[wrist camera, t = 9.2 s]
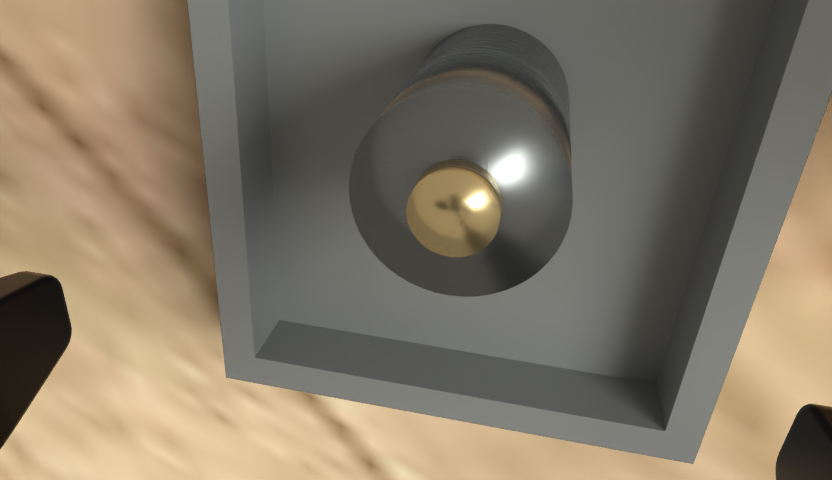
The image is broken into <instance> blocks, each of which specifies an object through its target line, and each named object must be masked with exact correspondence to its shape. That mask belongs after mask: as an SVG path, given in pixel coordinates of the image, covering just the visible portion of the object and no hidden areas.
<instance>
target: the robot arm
mask: <svg viewBox="0 0 832 480" xmlns="http://www.w3.org/2000/svg"><path fill="white" fill-rule="evenodd" d="M71 332H72V328H71V323H70V319H69V314H68V310H67V306H66V302H65V298H64V293H63V289H62V286H61V283H60V282H59V281H58V279H57V278H55V277H53V276H51V275H47V274H41V273H35V272H28V271H25V272H18V273H15V274H11V275H8V276H5V277H1V278H0V449H1V448H2V446H3V445H4V443H5V442H6V440H7V439H8V438H9V436H10V435H11V433H12V432H13V430H14V429H15V427H16V426H17V424H18V423H19V421H20V419H21V418H22V416H23V415H24V413H25V412H26V410H27V409H28V407H29V406H30V404H31V402H32V401H33V399H34V398H35V396H36V395H37V393H38V392H39V390H40V389H41V387H42V385H43V384H44V382H45V381H46V379H47V378H48V376H49V375H50V373H51V372H52V370H53V368H54V367H55V365H56V364H57V362H58V361H59V359H60V358H61V356H62V355H63V353H64V351H65V350H66V348H67V346H68V344H69V342H70V338H71ZM776 480H832V407H828V406H822V405H817V404H808V405H805V406H803V407H802V408H801V409H800V410H799V412H798V413H797V415H796V417H795V420H794V422H793V424H792V426H791V428H790V431H789V433H788V435H787V437H786V439H785V441H784V444H783V446H782V448H781V450H780V452H779V455H778V458H777V462H776Z"/></svg>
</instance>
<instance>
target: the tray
mask: <svg viewBox="0 0 832 480" xmlns="http://www.w3.org/2000/svg"><path fill="white" fill-rule="evenodd" d="M187 2H188V12H189V22H190V32H191V41H192V51H193V61H194V70H195V80H196V90H197V99H198V109H199V119H200V129H201V138H202V148H203V158H204V167H205V177H206V187H207V197H208V206H209V216H210V226H211V235H212V245H213V255H214V265H215V274H216V284H217V294H218V303H219V313H220V323H221V332H222V342H223V352H224V362H225V371H226V378H231V379H237V380H242V381H247V382H253V383H258V384H264V385H269V386H274V387H280V388H285V389H291V390H296V391H301V392H307V393H312V394H318V395H323V396H328V397H334V398H339V399H345V400H350V401H356V402H361V403H366V404H372V405H377V406H383V407H388V408H393V409H399V410H404V411H410V412H415V413H420V414H426V415H431V416H437V417H442V418H447V419H453V420H458V421H464V422H469V423H474V424H480V425H485V426H491V427H496V428H501V429H507V430H512V431H518V432H523V433H528V434H534V435H539V436H545V437H550V438H556V439H561V440H566V441H572V442H577V443H583V444H588V445H593V446H599V447H604V448H610V449H615V450H620V451H626V452H631V453H637V454H642V455H647V456H653V457H658V458H664V459H669V460H674V461H680V462H685V463H691V464H693V463H694V461H695V458H696V455H697V453H698V450H699V447H700V445H701V442H702V439H703V437H704V434H705V431H706V429H707V426H708V423H709V421H710V418H711V415H712V412H713V410H714V407H715V404H716V402H717V399H718V396H719V394H720V391H721V388H722V386H723V383H724V380H725V378H726V375H727V372H728V370H729V367H730V364H731V362H732V359H733V356H734V353H735V351H736V348H737V345H738V343H739V340H740V337H741V335H742V332H743V329H744V327H745V324H746V321H747V319H748V316H749V313H750V311H751V308H752V305H753V303H754V300H755V297H756V294H757V292H758V289H759V286H760V284H761V281H762V278H763V276H764V273H765V270H766V268H767V265H768V262H769V260H770V257H771V254H772V252H773V249H774V246H775V244H776V241H777V238H778V235H779V233H780V230H781V227H782V225H783V222H784V219H785V217H786V214H787V211H788V209H789V206H790V203H791V201H792V198H793V195H794V193H795V190H796V187H797V185H798V182H799V179H800V176H801V174H802V171H803V168H804V166H805V163H806V160H807V158H808V155H809V152H810V150H811V147H812V144H813V142H814V139H815V136H816V134H817V131H818V128H819V126H820V123H821V120H822V117H823V115H824V112H825V109H826V107H827V104H828V101H829V99H830V96H831V93H832V0H187ZM483 24H500V25H506V26H511V27H514V28H517V29H520V30H522V31H524V32H527V33H529V34H530V35H532V36H534V37H535V38H537V39H538V40H539V41H541V42H542V43H543V44H544V45H545V46H546V47H547V48H548V49H549V50H550V51H551V52H552V53H553V55H554V56H555V57H556V59H557V61H558V62H559V64H560V66H561V68H562V70H563V72H564V74H565V78H566V81H567V85H568V91H569V108H570V135H571V162H572V189H573V207H572V215H571V220H570V224H569V227H568V231H567V233H566V235H565V238H564V240H563V242H562V244H561V246H560V247H559V249H558V250H557V252H556V254H555V255H554V256H553V257H552V259H551V260H550V261H549V262H548V263H547V264H546V265H545V266H544V267H543V268H542V269H541V270H540V271H539V272H538V273H536V274H535V275H534V276H532V277H531V278H529V279H528V280H526V281H525V282H523V283H521V284H519V285H517V286H515V287H513V288H510V289H507V290H505V291H502V292H498V293H494V294H490V295H483V296H475V297H460V296H450V295H444V294H440V293H435V292H432V291H429V290H426V289H423V288H420V287H418V286H416V285H414V284H412V283H409V282H408V281H406V280H404V279H403V278H401V277H399V276H398V275H396V274H395V273H394V272H392V271H391V270H390V269H389V268H387V267H386V266H385V265H384V264H383V263H382V262H381V261H380V260H379V259H378V258H377V257H376V256H375V255H374V253H373V252H372V251H371V250H370V249H369V247H368V246H367V244H366V243H365V241H364V239H363V238H362V236H361V234H360V232H359V230H358V228H357V226H356V223H355V220H354V217H353V214H352V210H351V205H350V200H349V176H350V170H351V166H352V161H353V158H354V156H355V153H356V151H357V148H358V146H359V144H360V143H361V141H362V139H363V137H364V136H365V134H366V133H367V132H368V130H369V129H370V128H371V127H372V125H373V124H374V123H375V121H376V120H377V119H378V118H379V116H380V115H381V114H382V113H383V111H384V110H385V109H386V108H387V106H388V105H389V104H390V103H391V101H392V100H393V99H394V97H395V96H396V95H397V94H398V92H399V91H400V90H401V89H402V87H403V86H404V85H405V84H406V82H407V81H408V80H409V79H410V77H411V76H412V75H413V73H414V72H415V71H416V70H417V68H418V67H419V66H420V65H421V63H422V62H423V61H424V60H425V58H426V57H427V56H428V55H429V53H430V52H431V51H432V50H433V49H434V48H435V47H436V46H437V45H438V44H439V43H440V42H441V41H443V40H444V39H445V38H447V37H448V36H450V35H452V34H453V33H455V32H457V31H459V30H462V29H464V28H467V27H471V26H475V25H483Z"/></svg>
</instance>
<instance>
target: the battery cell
mask: <svg viewBox="0 0 832 480" xmlns="http://www.w3.org/2000/svg"><path fill="white" fill-rule="evenodd" d="M349 200H350V205H351V210H352V214H353V217H354V220H355V223H356V226H357V228H358V230H359V232H360V234H361V236H362V238H363V239H364V241H365V243H366V244H367V246H368V247H369V249H370V250H371V251H372V252H373V253H374V255H375V256H376V257H377V258H378V259H379V260H380V261H381V262H382V263H383V264H384V265H385V266H386V267H387V268H389V269H390V270H391V271H392V272H394V273H395V274H396V275H398V276H399V277H401V278H403V279H404V280H406V281H408V282H409V283H412V284H414V285H416V286H418V287H420V288H423V289H426V290H429V291H432V292H435V293H440V294H444V295H450V296H460V297H475V296H483V295H490V294H494V293H498V292H502V291H505V290H507V289H510V288H513V287H515V286H517V285H519V284H521V283H523V282H525V281H526V280H528V279H529V278H531V277H532V276H534V275H535V274H536V273H538V272H539V271H540V270H541V269H542V268H543V267H544V266H545V265H546V264H547V263H548V262H549V261H550V260H551V259H552V257H553V256H554V255H555V254H556V252H557V250H558V249H559V247H560V246H561V244H562V242H563V240H564V238H565V235H566V233H567V231H568V227H569V224H570V220H571V215H572V207H573V189H572V162H571V135H570V108H569V91H568V85H567V81H566V78H565V74H564V72H563V70H562V68H561V66H560V64H559V62H558V61H557V59H556V57H555V56H554V55H553V53H552V52H551V51H550V50H549V49H548V48H547V47H546V46H545V45H544V44H543V43H542V42H541V41H539V40H538V39H537V38H535V37H534V36H532V35H530V34H529V33H527V32H524V31H522V30H520V29H517V28H514V27H511V26H506V25H500V24H483V25H475V26H471V27H467V28H464V29H462V30H459V31H457V32H455V33H453V34H452V35H450V36H448V37H447V38H445V39H444V40H443V41H441V42H440V43H439V44H438V45H437V46H436V47H435V48H434V49H433V50H432V51H431V52H430V53H429V55H428V56H427V57H426V58H425V60H424V61H423V62H422V63H421V65H420V66H419V67H418V68H417V70H416V71H415V72H414V73H413V75H412V76H411V77H410V79H409V80H408V81H407V82H406V84H405V85H404V86H403V87H402V89H401V90H400V91H399V92H398V94H397V95H396V96H395V97H394V99H393V100H392V101H391V103H390V104H389V105H388V106H387V108H386V109H385V110H384V111H383V113H382V114H381V115H380V116H379V118H378V119H377V120H376V121H375V123H374V124H373V125H372V127H371V128H370V129H369V130H368V132H367V133H366V134H365V136H364V137H363V139H362V141H361V143H360V144H359V146H358V148H357V151H356V153H355V156H354V158H353V161H352V166H351V170H350V176H349Z"/></svg>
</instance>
